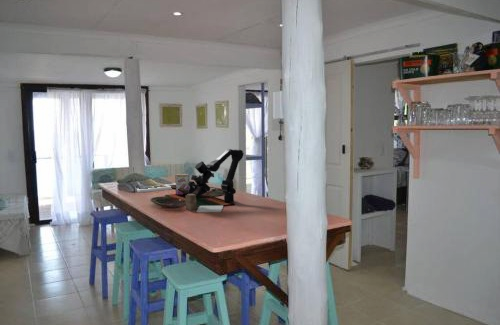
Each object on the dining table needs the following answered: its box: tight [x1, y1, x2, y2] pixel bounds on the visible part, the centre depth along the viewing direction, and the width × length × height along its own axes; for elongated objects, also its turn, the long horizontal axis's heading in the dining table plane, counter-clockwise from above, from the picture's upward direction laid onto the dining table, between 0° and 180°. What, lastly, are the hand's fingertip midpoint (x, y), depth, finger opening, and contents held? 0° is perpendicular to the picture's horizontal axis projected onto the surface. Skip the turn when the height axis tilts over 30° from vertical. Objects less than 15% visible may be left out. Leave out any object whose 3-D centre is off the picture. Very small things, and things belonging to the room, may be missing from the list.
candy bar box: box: [174, 173, 191, 196], centre depth 316 cm, size 11×5×16 cm, turn 84°
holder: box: [136, 182, 176, 194], centre depth 347 cm, size 45×18×3 cm, turn 122°
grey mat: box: [196, 205, 224, 213], centre depth 260 cm, size 16×16×1 cm
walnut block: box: [185, 193, 197, 211], centre depth 261 cm, size 5×5×10 cm
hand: (192, 196), depth 261 cm, fingers open, 9 cm apart
